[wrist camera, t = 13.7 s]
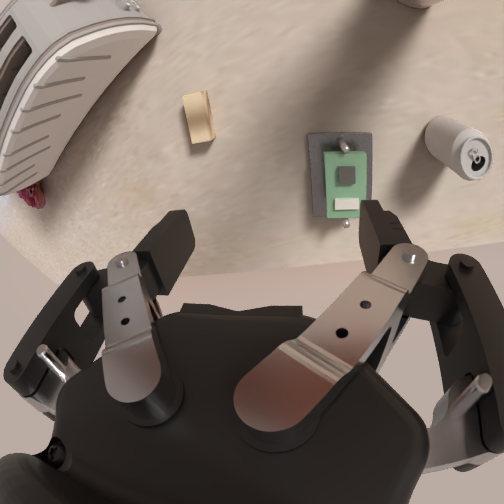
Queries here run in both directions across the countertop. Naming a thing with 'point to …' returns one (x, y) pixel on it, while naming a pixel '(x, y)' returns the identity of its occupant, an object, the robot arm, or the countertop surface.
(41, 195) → the flower
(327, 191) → the board
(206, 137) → the beige wooden block
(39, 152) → the toaster
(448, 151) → the can
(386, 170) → the countertop surface
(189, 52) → the countertop surface
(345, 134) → the chassis
